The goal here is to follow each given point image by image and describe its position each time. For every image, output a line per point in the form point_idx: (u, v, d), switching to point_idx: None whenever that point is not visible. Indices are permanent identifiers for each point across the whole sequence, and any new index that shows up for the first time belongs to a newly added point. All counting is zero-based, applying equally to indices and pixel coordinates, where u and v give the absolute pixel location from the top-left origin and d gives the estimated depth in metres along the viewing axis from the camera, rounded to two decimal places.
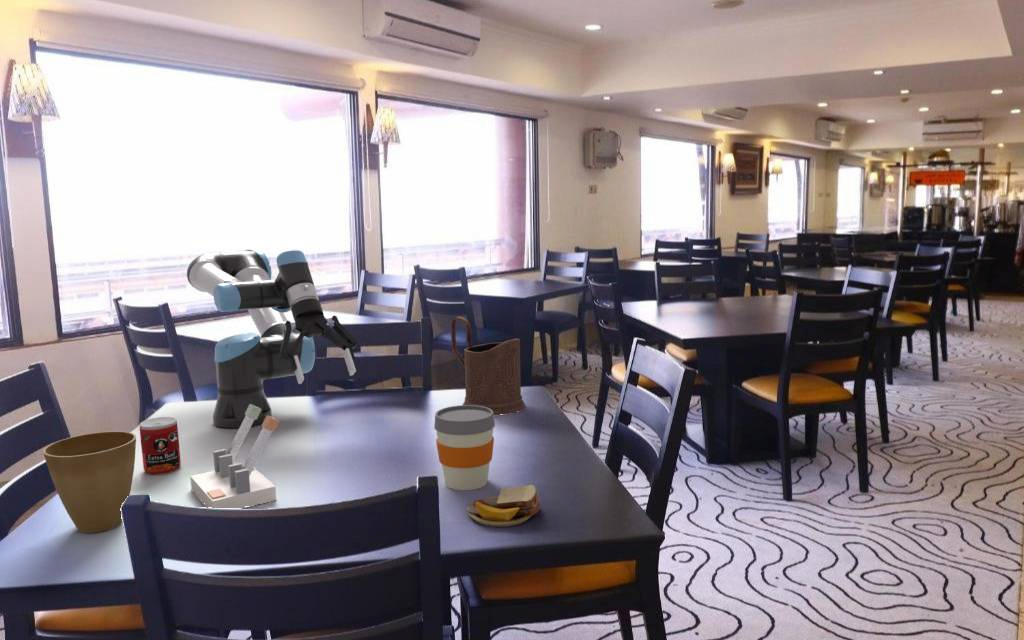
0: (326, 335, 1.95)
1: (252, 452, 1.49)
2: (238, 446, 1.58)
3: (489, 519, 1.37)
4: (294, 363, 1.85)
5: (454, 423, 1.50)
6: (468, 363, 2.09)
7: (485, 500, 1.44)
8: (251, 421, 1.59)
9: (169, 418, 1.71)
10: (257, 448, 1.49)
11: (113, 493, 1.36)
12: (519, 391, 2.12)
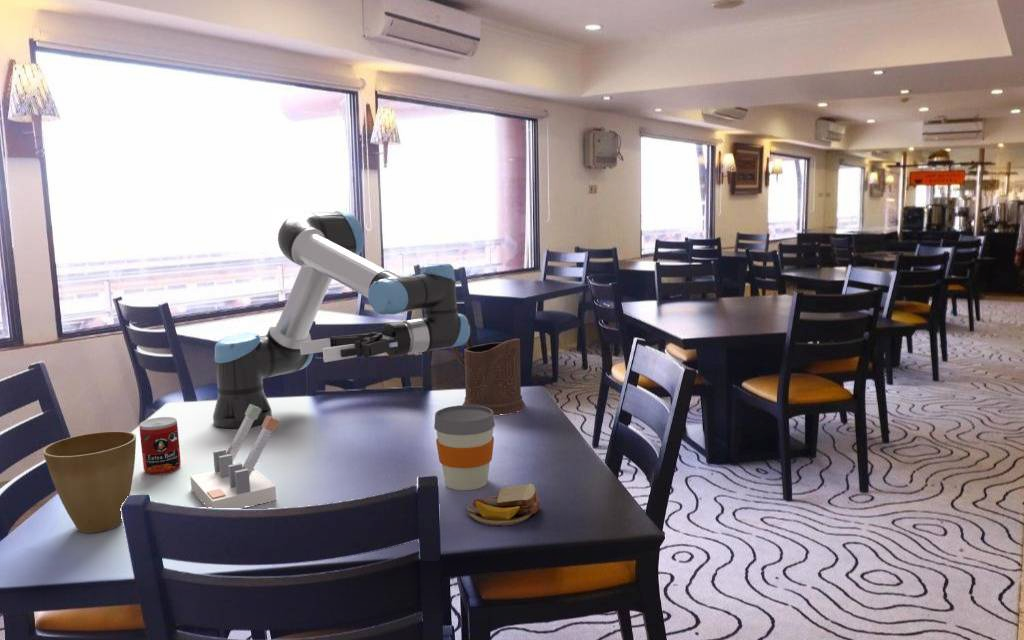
0: None
1: (252, 452, 1.49)
2: (238, 446, 1.58)
3: (490, 518, 1.37)
4: (347, 355, 1.52)
5: (454, 423, 1.50)
6: (468, 363, 2.09)
7: (485, 499, 1.45)
8: (251, 421, 1.59)
9: (169, 418, 1.71)
10: (257, 448, 1.49)
11: (113, 493, 1.36)
12: (519, 391, 2.12)
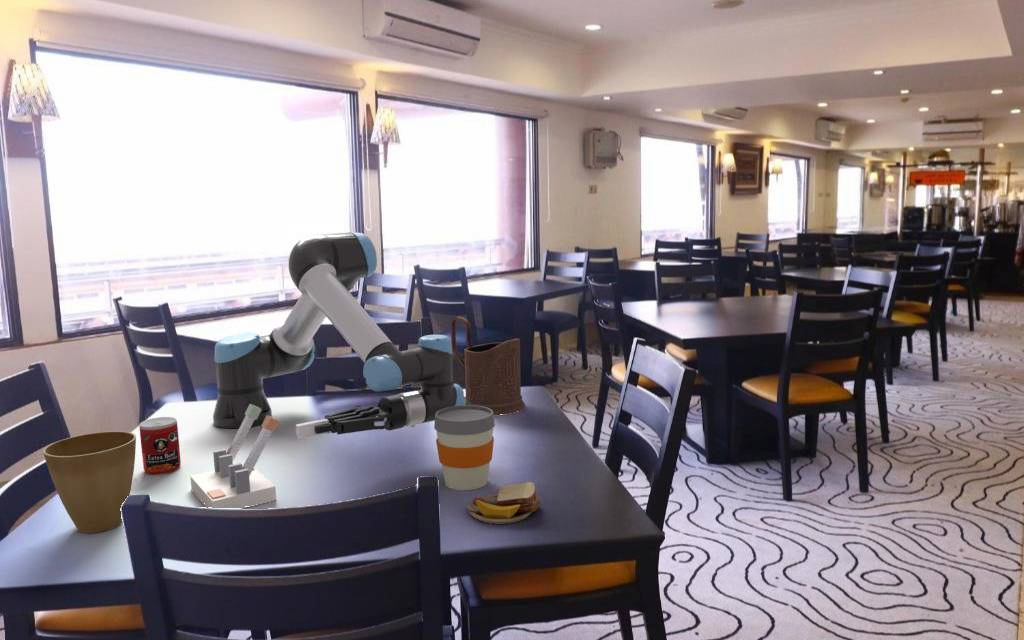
0: None
1: (252, 452, 1.49)
2: (238, 446, 1.58)
3: (490, 517, 1.38)
4: None
5: (454, 423, 1.50)
6: (468, 363, 2.09)
7: (484, 498, 1.45)
8: (251, 421, 1.59)
9: (169, 418, 1.71)
10: (257, 448, 1.49)
11: (113, 493, 1.36)
12: (519, 391, 2.12)
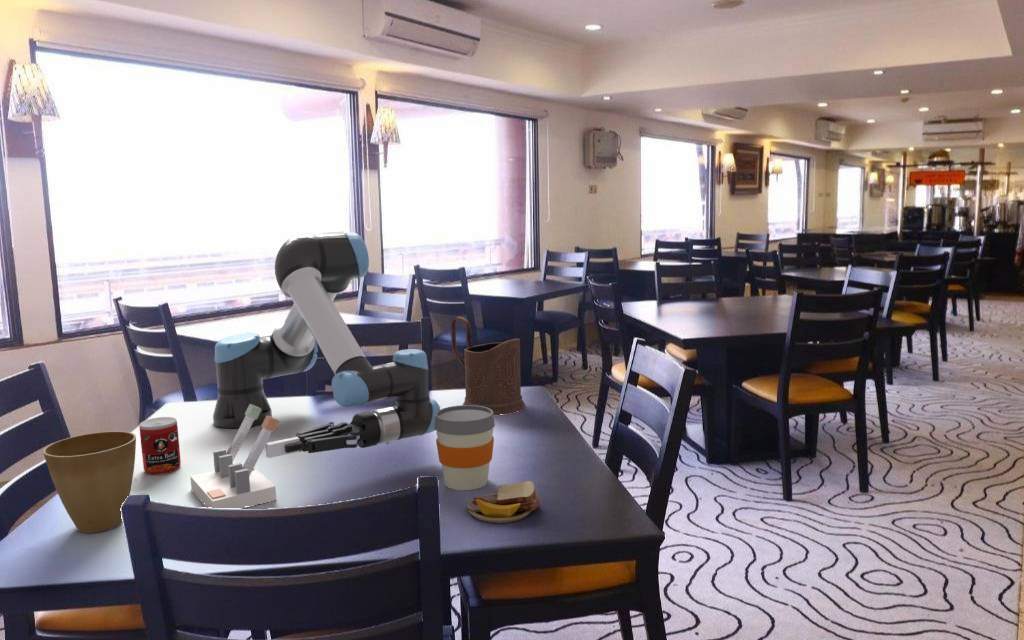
0: None
1: (252, 452, 1.49)
2: (238, 446, 1.58)
3: (491, 516, 1.38)
4: None
5: (454, 423, 1.50)
6: (468, 363, 2.09)
7: (483, 497, 1.46)
8: (251, 421, 1.59)
9: (169, 418, 1.71)
10: (257, 448, 1.49)
11: (113, 493, 1.36)
12: (519, 391, 2.12)
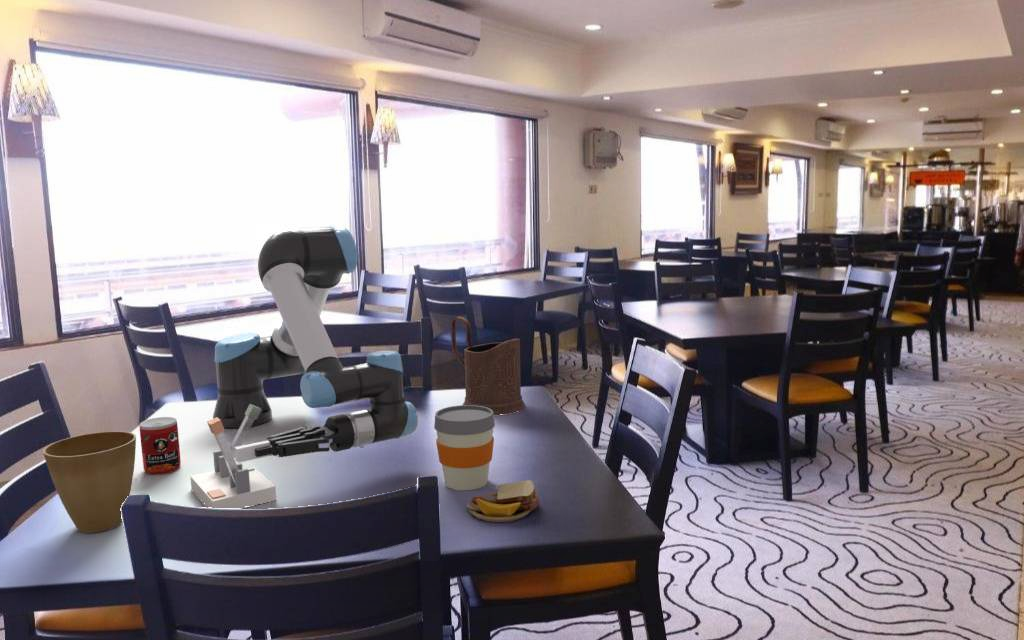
0: None
1: (224, 457, 1.46)
2: None
3: (491, 515, 1.39)
4: None
5: (454, 423, 1.50)
6: (468, 363, 2.09)
7: (483, 497, 1.46)
8: (251, 421, 1.59)
9: (169, 418, 1.71)
10: (224, 452, 1.45)
11: (113, 493, 1.36)
12: (519, 391, 2.12)
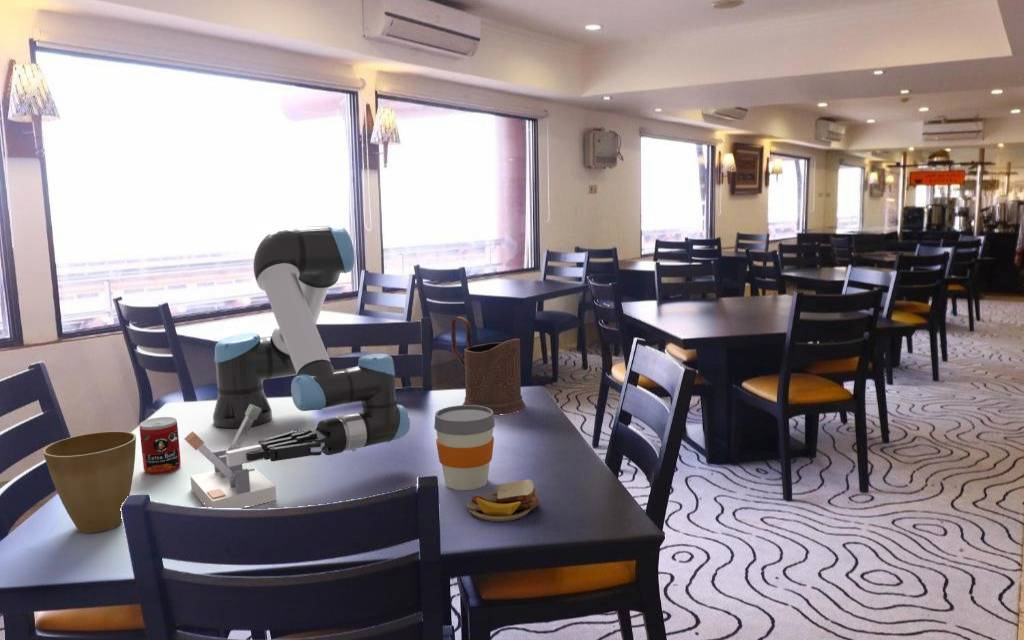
0: None
1: (214, 465, 1.45)
2: (238, 446, 1.58)
3: (491, 514, 1.39)
4: None
5: (454, 423, 1.50)
6: (468, 363, 2.09)
7: (483, 496, 1.46)
8: (251, 421, 1.59)
9: (169, 418, 1.71)
10: (212, 461, 1.44)
11: (113, 493, 1.36)
12: (519, 391, 2.12)
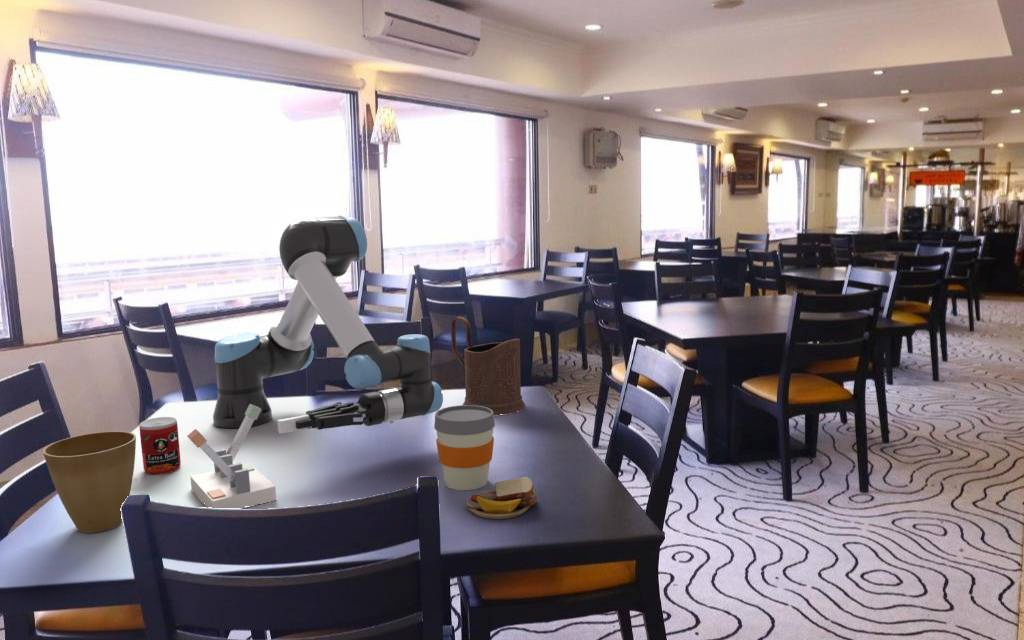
0: None
1: None
2: (238, 446, 1.58)
3: (491, 512, 1.40)
4: None
5: (454, 423, 1.50)
6: (468, 363, 2.09)
7: (481, 494, 1.47)
8: (251, 421, 1.59)
9: (169, 418, 1.71)
10: (214, 460, 1.44)
11: (113, 493, 1.36)
12: (519, 391, 2.12)
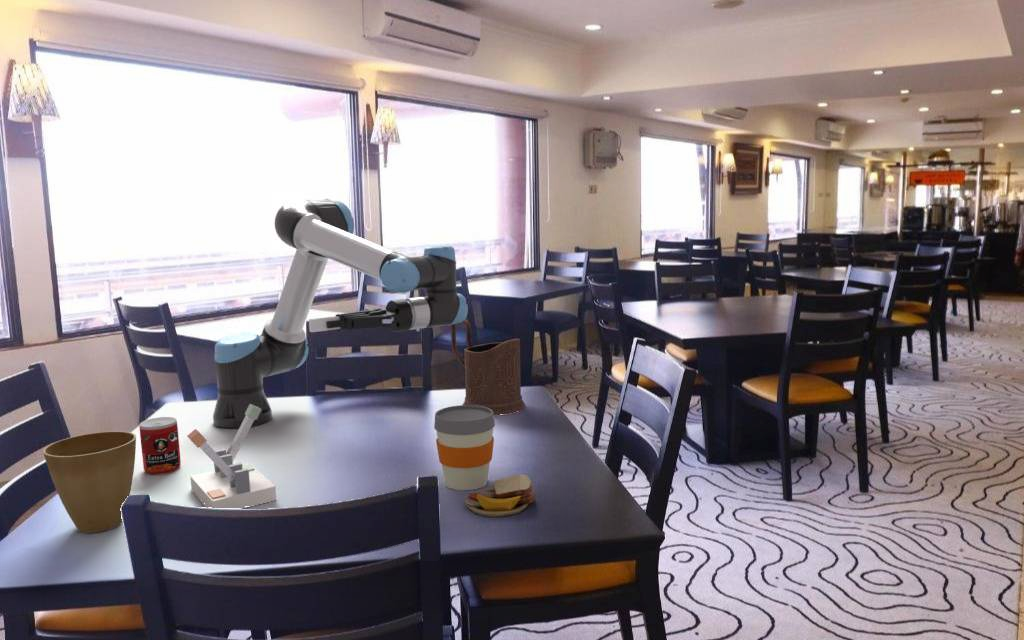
0: None
1: None
2: (238, 446, 1.58)
3: (491, 510, 1.41)
4: None
5: (454, 423, 1.50)
6: (468, 363, 2.09)
7: (479, 493, 1.48)
8: (251, 421, 1.59)
9: (169, 418, 1.71)
10: (214, 460, 1.44)
11: (113, 493, 1.36)
12: (519, 391, 2.12)
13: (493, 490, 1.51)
